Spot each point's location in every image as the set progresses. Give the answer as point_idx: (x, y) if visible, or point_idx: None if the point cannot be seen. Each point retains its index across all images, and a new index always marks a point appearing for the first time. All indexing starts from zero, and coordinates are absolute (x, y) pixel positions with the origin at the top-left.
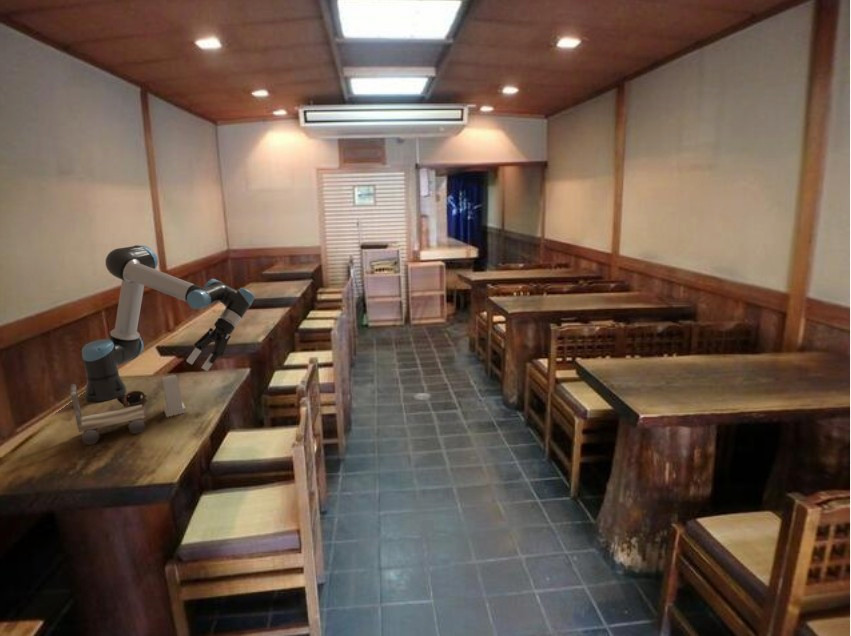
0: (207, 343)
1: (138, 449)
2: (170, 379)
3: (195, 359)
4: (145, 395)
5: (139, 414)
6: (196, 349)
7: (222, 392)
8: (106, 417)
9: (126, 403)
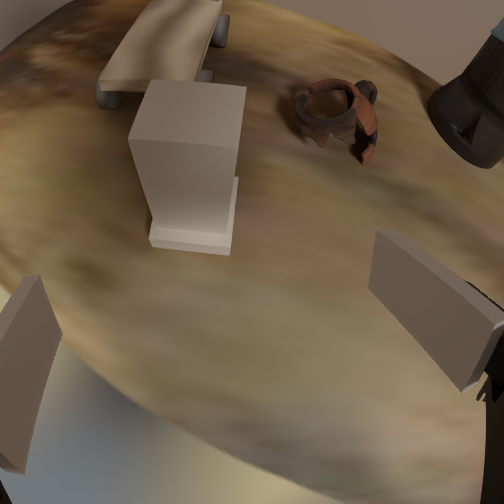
0: (492, 501)
1: (27, 103)
2: (162, 106)
3: (397, 319)
4: (344, 135)
5: (103, 71)
6: (478, 327)
7: (294, 445)
8: (165, 23)
9: (308, 87)
